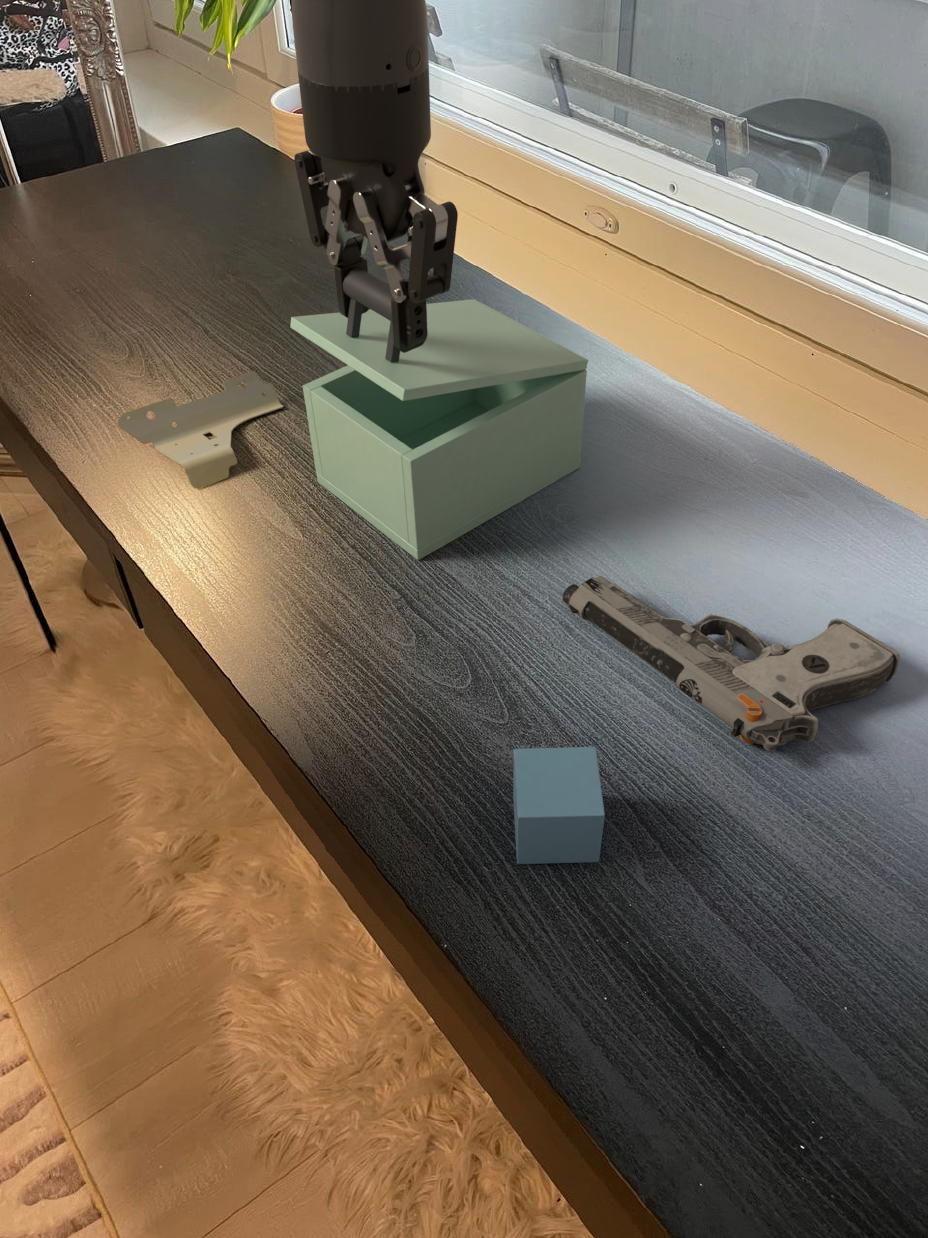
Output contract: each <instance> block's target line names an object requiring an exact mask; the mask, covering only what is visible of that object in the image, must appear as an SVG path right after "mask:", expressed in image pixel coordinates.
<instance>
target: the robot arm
mask: <svg viewBox="0 0 928 1238" xmlns="http://www.w3.org/2000/svg"><path fill="white" fill-rule="evenodd" d="M291 22H292V31H293V33H292V34H293V41H294V42H293V43H294V52H295V59H296V69H297V77H298V86H299V92H300V93H299V95H300V102H301V110H302V120H303V129H304V131H303V132H304V140H305V143H306V146H307V147H308V150H304V151H300V152H297V153H295V154H294V158H293V160H294V161H293V162H294V166H295V171H296V175H297V180H298V186H299V189H300V194H301V200H302V203H303V208H304V213H305V218H306V223H307V229H308V232H309V238H310V241H311V242H312V244H313V246H314V247H316V248H320V247H324V249H325V250H326V251H325V252H326V257H327V260H328V262H329V263H330V265H332V266H333V269H334V279H335V289H336V297H337V302H338V303H337V304H338V311H339V312H340V314H342V315H343V316H345V317H346V318H348V313H349V305H350V297H349V296H347V295H346V294H345V292H344V290H343V281H344V278H345V276H346V274H347V273H348V272H349V271H350V270H352V269H354V268H360V269H362V270H364V271H366V272H368V273H369V270H368V269H369V268H368V259H366V258H364V257H362V256H364V255H365V254H366V252H367V247H368V244H369V247H370V250H371V253H372V257H373V260H374V263H375V264H376V265H377V266H378V267H381V268H383V270H384V272H385V276H386V279H387V282H388V283H387V284H389V286H390V289H391V293H392V296H393V298H392V299H391V309H392V325H393V340H394V347H395V348H396V349H398V350H400V351H401V352H403V353H406V352H408V351H410V350H413V349H415V348H417V347H420V346H422V345H423V344H424V342H425V341H426V339H427V335H428V330H427V305H426V304H427V300H428V299H431V298H434V297H436V296H438V295H441V294H445V293H447V292H449V291H450V289H451V284H452V283H451V282H452V272H453V264H454V263H453V262H454V256H455V255H454V254H455V247H456V237H457V236H456V235H457V225H458V217H459V214H458V209H457V206H456V205H455V204H454V203H453V202H452V201H451V200H450V201H446V202H444V203H439V204H438V203H436V202H435V201H434V200H432V199H431V198H430V197H428V196H427V195H426V194H425V186H424V183H423V179H422V177H421V176H422V175H421V173H420V168H419V161H420V158H421V156H422V155H423V153H424V151H425V150H426V148H427V147H428V146H429V143H430V141H431V137H432V124H431V122H432V121H431V95H430V94H431V93H430V92H431V91H430V61H429V57H430V56H429V31H428V30H429V29H428V28H429V27H428V10H427V4H426V0H291ZM325 207H327V212H326V217H325V221H324V222H325V223H323V219H322V214H321V213H322V210H323V208H325ZM405 235H407V240H406V242H405V244H401V245H399V246H396V247H394V248H391V247H390V246H389V243H390V242H393V241H396V240H397V239H398V240H399V239H401V238H403V237H404V236H405ZM405 260H408V262H409V270H408V271H409V272H408V278H405V277H404V273H403V270H402V266H401V264H402V262H403V261H405ZM432 269H433V270H432ZM430 270H432V273H430ZM368 310H369V308H368V307H366V306H364V305H363V309H362V314H363V313H366V312H367V311H368ZM339 312H338V313H339Z"/></svg>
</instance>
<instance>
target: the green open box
mask: <svg viewBox="0 0 928 1238" xmlns="http://www.w3.org/2000/svg"><path fill="white" fill-rule="evenodd" d="M587 373H588V371H587V369H586V370H581V371H575V372H569V373H563V374H557V375H552V376H546V377H540V378H534V379H528V380H522V381H517V382H511V383H505V384H499V385H493V386H488V387H482V388H476V389H470V390H464V391H458V392H453V393H447V394H441V395H435V396H429V397H424V398H418V399H412V400H406V401H402V400H401V399H399V398H397V397H396V396H394V395H393V394H391V393H390V392H388V391H387V390H385V389H384V388H382V387H381V386H379V385H378V384H376V383H375V382H373V381H371V380H370V379H368V378H367V377H365V376H364V375H362V374H361V373H359V372H358V371H356V370H355V369H353V368H352V367H350V366H349V365H347V364H346V365H345V366H343V367H340V368H339V369H336V370H334V371H332V372H329V373H327V374H325V375H323V376H321V377H318V378H316V379H314V380H311V381H310V382H307V383H304V384H303V385H302V391H303V392H302V393H303V397H304V405H305V410H306V416H307V425H308V430H309V431H308V432H309V438H310V442H311V449H312V455H313V462H314V469H315V473H316V479H317V483H318V484H319V485H320V486H322V487H324V488H325V489H326V490H327V491H328V492H330V493H331V494H333V495H334V496H335V497H336V498H338V499H339V500H340V501H341V502H343V503H344V504H345V505H346V506H348V507H349V508H350V509H352V510H353V511H354V512H355V513H357V514H358V515H359V516H361V517H362V518H363V519H365V521H367V522H368V523H370V524H371V525H372V526H373V527H375V528H376V529H377V530H379V531H380V532H381V533H382V534H383V535H385V536H386V537H388V538H389V539H390V540H391V541H393V542H394V543H395V544H396V545H398V546H399V547H400V548H402V549H403V550H404V551H405V552H407V553H408V554H409V555H410V556H412V557H413V558H415V560H417V561H420V560H421V559H424V558H425V557H426V556H428V555H430V554H433V552H436V551H437V550H439V549H441V548H443V547H444V546H446V545H448V544H450V543H451V542H453V541H455V540H457V539H458V538H460V537H462V536H464V535H465V534H466V533H467V534H468V532H470V531H473V530H474V529H476V528H477V527H479V526H481V525H483V524H484V523H487V522H488V521H490V520H491V519H493V518H494V517H497V516H498V515H499V514H502V513H503V512H505V511H507V510H508V509H510V508H512V507H514V506H515V505H517V504H519V503H521V502H523V501H524V500H526V499H528V498H530V497H531V496H533V495H535V494H536V493H538V492H540V491H541V490H544V489H545V488H547V487H549V486H550V485H552V484H554V483H555V482H557V481H559V480H561V479H562V478H565V477H566V476H568V475H569V474H571V473H573V472H575V471H576V470H578V469H580V468H581V464H582V463H581V461H582V449H583V432H584V420H585V419H584V417H585V402H586V389H587V388H586V386H587Z"/></svg>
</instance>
